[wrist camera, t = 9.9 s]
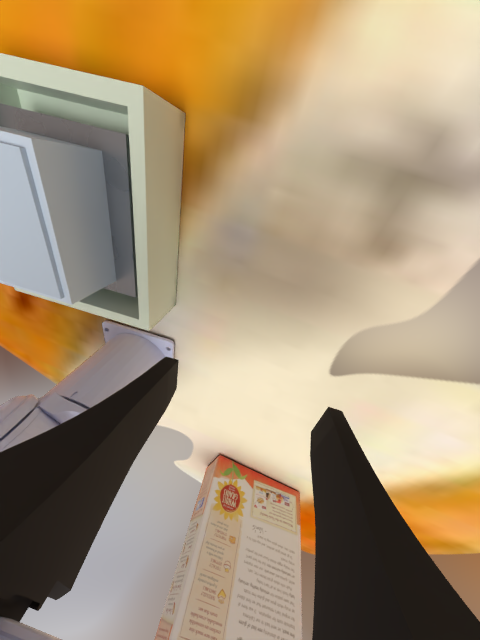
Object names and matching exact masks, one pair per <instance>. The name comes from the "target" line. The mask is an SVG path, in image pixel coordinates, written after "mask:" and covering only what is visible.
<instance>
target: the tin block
mask: <svg viewBox="0 0 480 640" xmlns="http://www.w3.org/2000/svg"><path fill="white" fill-rule="evenodd" d="M0 126H1V127H7V128H12V129H17V130H22V131H26V132H30V133H34V134H38V135H42V136H46V137H50V138H54V139H57V140H61V141H65V142H69V143H73V144H77V145H81V146H85V147H89V148H93V149H97V150H101V151H102V156H103V165H104V174H105V183H106V192H107V201H108V210H109V219H110V228H111V237H112V246H113V255H114V264H115V272H116V281H115V282H113V283H111V284H110V285H108V286H106V287H104V288H105V289H108V290H111V291H115V292H118V293H122V294H125V295H128V296H132V297H135V298H136V297H138V287H137V270H136V252H135V234H134V216H133V198H132V180H131V162H130V144H129V135H127V134H123V133H119V132H115V131H111V130H107V129H103V128H99V127H95V126H91V125H87V124H83V123H79V122H74V121H70V120H66V119H62V118H58V117H54V116H50V115H46V114H42V113H38V112H34V111H30V110H26V109H21V108H17V107H13V106H9V105H5V104H1V103H0Z"/></svg>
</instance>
